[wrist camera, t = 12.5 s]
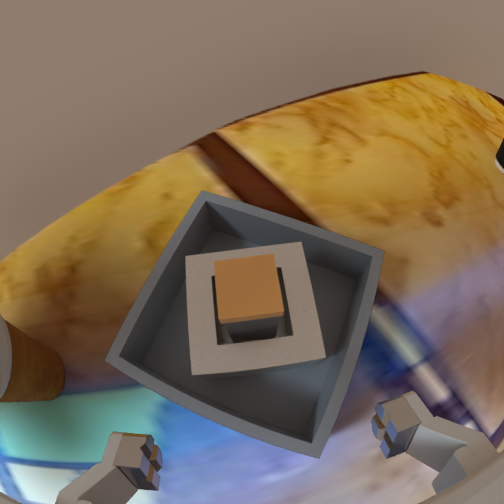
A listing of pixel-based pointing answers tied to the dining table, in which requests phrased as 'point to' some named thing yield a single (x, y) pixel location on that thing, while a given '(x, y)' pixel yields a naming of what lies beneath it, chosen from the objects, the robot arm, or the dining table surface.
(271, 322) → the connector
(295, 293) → the inlet socket
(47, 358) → the disposable coffee cup
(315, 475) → the dining table surface
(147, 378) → the walled box
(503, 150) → the dixie cup
